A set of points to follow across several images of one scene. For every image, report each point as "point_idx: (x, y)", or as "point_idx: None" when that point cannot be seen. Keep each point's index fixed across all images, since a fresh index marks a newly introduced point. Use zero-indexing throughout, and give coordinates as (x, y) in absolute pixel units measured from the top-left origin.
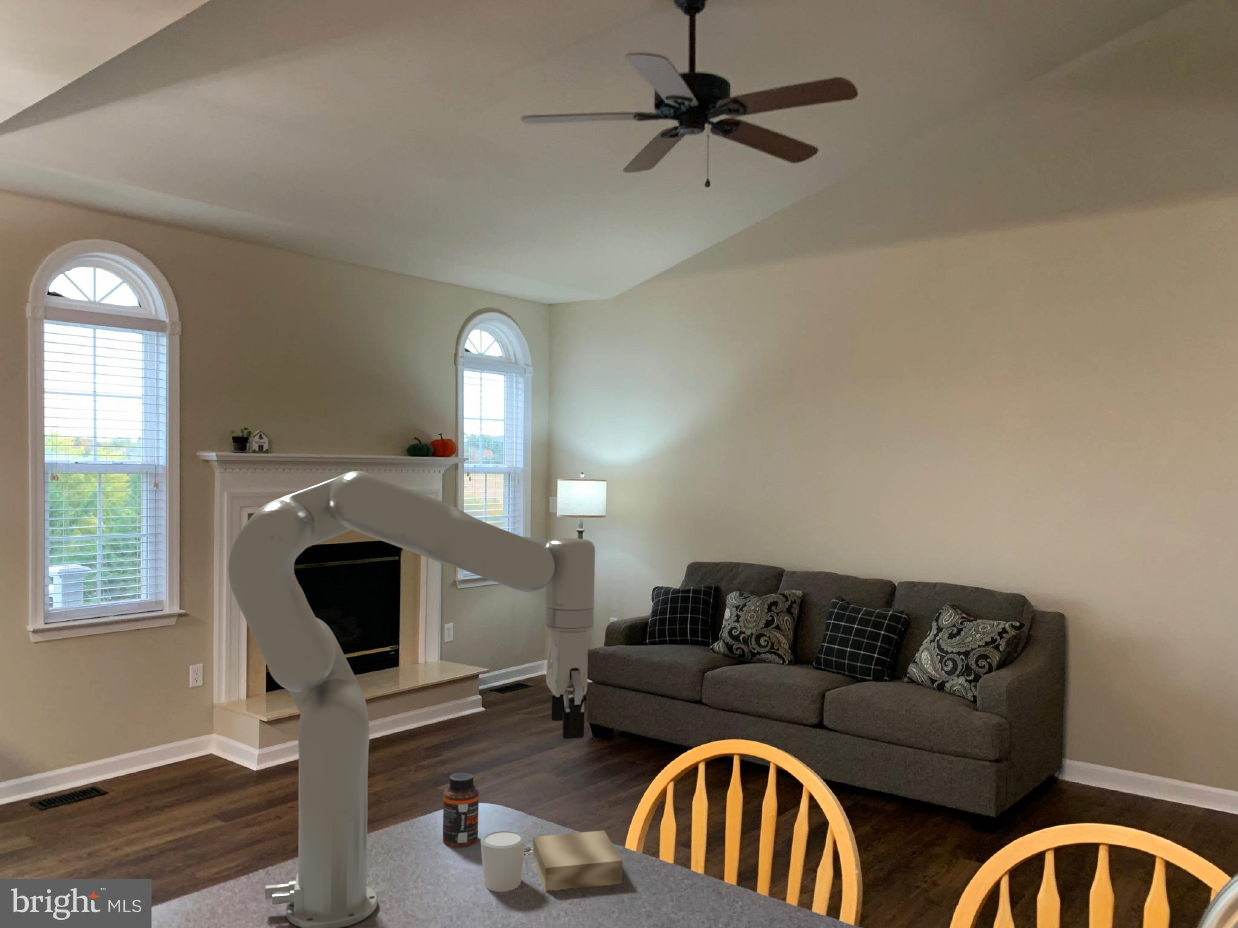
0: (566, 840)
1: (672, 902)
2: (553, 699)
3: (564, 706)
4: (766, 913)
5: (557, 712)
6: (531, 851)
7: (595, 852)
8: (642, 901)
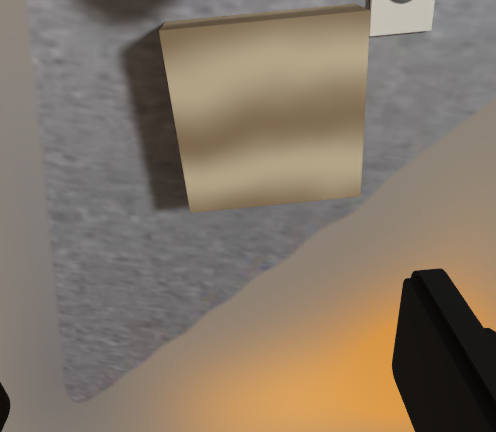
0: (322, 102)
1: (111, 258)
2: (487, 428)
3: (436, 426)
4: (78, 365)
5: (423, 345)
6: (386, 2)
7: (239, 163)
8: (114, 213)
